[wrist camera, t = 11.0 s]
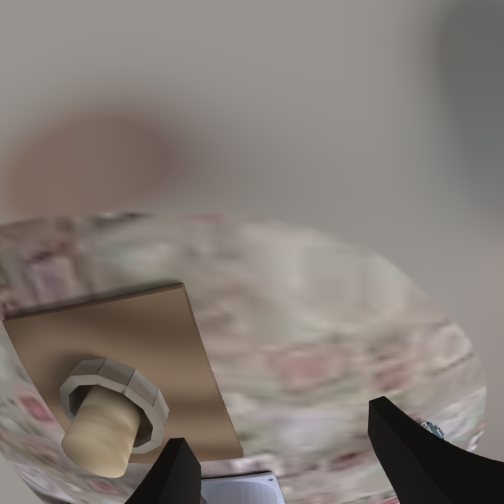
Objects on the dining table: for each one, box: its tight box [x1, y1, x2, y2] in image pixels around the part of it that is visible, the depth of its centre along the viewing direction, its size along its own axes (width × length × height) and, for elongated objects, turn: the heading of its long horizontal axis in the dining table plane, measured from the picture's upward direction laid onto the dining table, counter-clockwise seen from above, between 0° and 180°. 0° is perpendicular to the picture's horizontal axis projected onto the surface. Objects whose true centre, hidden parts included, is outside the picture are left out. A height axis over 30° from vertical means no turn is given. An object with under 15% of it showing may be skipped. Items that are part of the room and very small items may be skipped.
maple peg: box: [62, 384, 144, 478], centre depth 17 cm, size 4×4×6 cm
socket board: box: [2, 283, 243, 463], centre depth 19 cm, size 16×16×3 cm
